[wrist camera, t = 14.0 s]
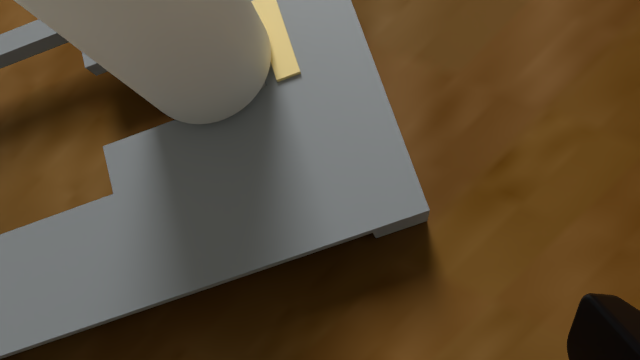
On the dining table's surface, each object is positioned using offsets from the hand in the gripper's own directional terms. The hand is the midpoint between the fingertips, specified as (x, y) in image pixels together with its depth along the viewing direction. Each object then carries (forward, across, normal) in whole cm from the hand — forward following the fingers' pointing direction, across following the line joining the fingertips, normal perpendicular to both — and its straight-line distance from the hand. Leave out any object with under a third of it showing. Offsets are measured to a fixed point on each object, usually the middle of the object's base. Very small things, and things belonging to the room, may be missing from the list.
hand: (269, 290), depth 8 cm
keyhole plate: (+12, +6, +4) cm, 14 cm away
